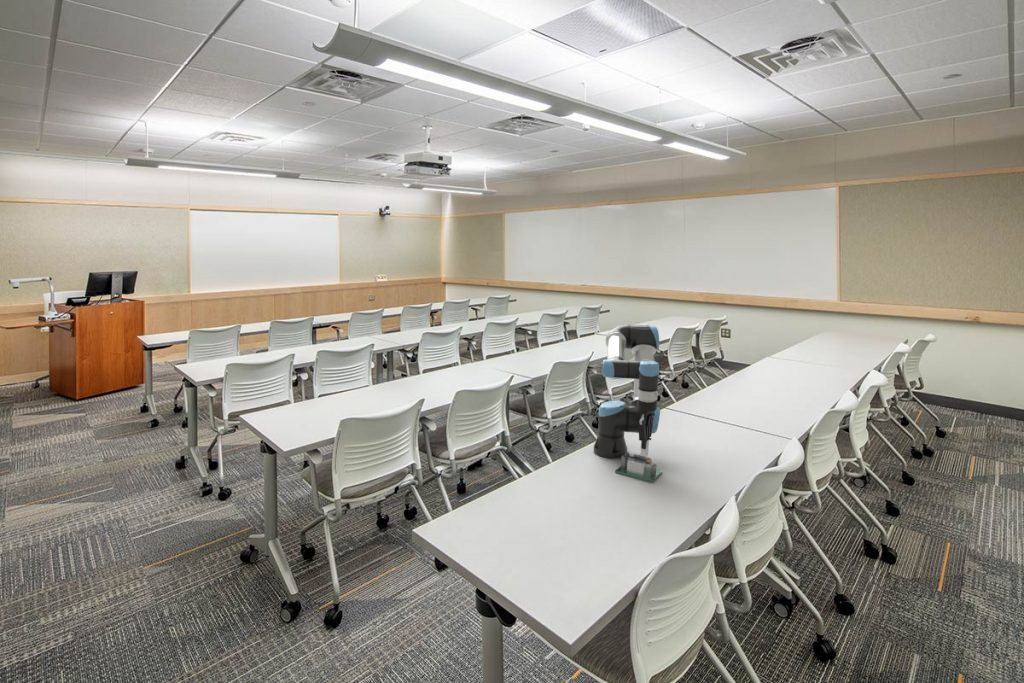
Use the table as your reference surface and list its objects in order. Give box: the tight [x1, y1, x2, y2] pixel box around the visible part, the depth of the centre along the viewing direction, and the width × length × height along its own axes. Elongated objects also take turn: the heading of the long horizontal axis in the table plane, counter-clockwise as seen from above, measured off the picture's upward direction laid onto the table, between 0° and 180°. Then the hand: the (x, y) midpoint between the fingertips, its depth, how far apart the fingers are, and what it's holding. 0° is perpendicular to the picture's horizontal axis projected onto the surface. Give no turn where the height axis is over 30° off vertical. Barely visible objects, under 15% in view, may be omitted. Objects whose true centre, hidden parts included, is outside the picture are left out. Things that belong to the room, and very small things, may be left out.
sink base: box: [614, 452, 663, 484], centre depth 214 cm, size 16×11×6 cm
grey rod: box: [625, 455, 653, 465], centre depth 214 cm, size 12×2×2 cm, turn 55°
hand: (644, 455), depth 212 cm, fingers closed
